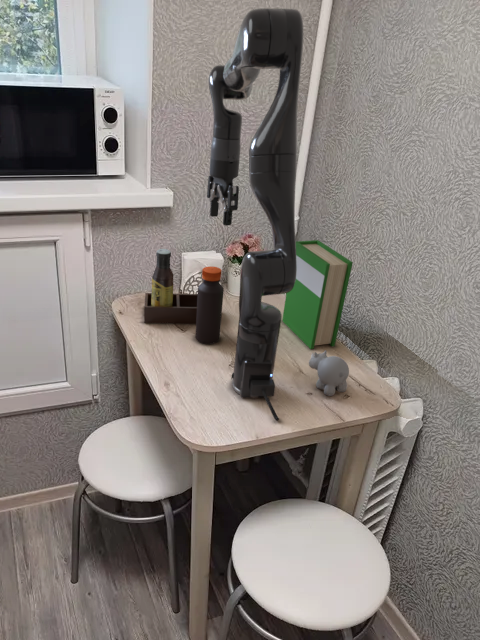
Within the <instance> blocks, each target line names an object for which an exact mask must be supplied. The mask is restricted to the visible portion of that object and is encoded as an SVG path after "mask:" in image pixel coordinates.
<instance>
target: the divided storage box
mask: <svg viewBox="0 0 480 640" xmlns="http://www.w3.org/2000/svg"><path fill="white" fill-rule="evenodd" d="M151 295H152V292H145V294H144V305H143V319H144V321H143V323H144V324H173V325H174V324H176V325H177V324H180V325H182V324H183V325H196V315H197V296H198V293H173V304H172V307H165V306H151V298H152V297H151Z"/></svg>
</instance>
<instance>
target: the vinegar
mask: <svg viewBox="0 0 480 640" xmlns="http://www.w3.org/2000/svg"><path fill="white" fill-rule="evenodd" d="M222 272H223V269H221V268H220V267H217V266H212V265H210V266H205V267H203V268H202V272H201V273H202V274H201V278H202V279H201V280H202V282H201V283H200V284H199V285H198V286H197V294H198V296H197V315H196V324H195V334H194V335H195V337H194V338H195V340H196V341H197V342H198V343H201V344H204V345H214V344H216V343H218V342H219V341H220V339H221V327H222V315H223V303H224V291H225V289H224V287H223V286H222V284H221V283H220V282H221V280H222Z"/></svg>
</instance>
